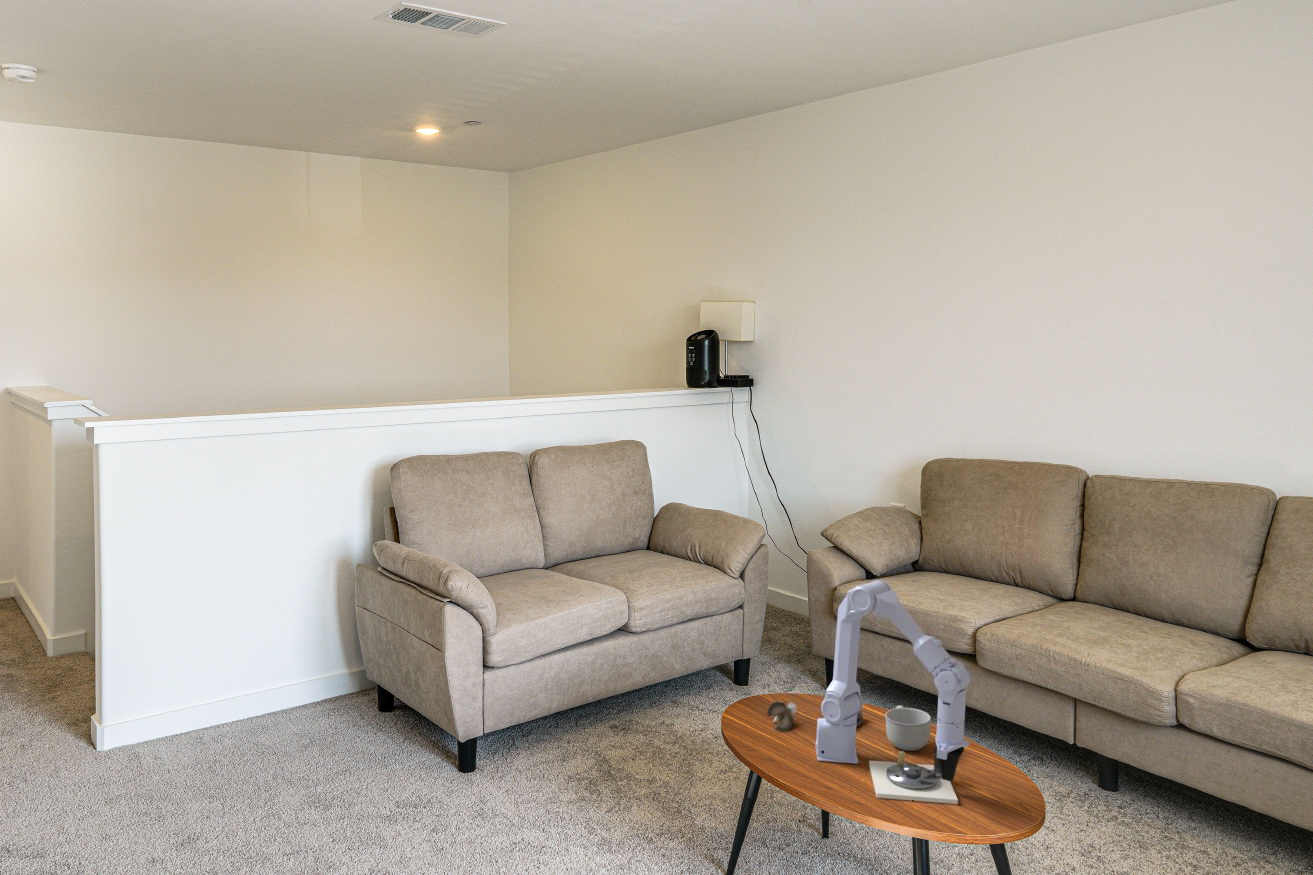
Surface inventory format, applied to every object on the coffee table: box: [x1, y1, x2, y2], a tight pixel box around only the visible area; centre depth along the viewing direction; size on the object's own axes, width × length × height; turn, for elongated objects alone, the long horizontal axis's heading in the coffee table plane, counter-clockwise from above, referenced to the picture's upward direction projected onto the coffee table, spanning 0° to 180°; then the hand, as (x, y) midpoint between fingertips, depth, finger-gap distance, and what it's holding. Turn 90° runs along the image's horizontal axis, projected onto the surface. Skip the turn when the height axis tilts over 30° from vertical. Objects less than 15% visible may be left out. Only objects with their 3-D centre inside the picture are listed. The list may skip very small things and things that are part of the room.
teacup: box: [884, 705, 932, 752], centre depth 229 cm, size 14×11×8 cm
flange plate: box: [886, 753, 942, 789], centre depth 207 cm, size 15×11×4 cm
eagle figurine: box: [766, 700, 798, 732], centre depth 239 cm, size 8×7×9 cm
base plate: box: [868, 750, 959, 805], centre depth 206 cm, size 17×17×4 cm
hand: (947, 779), depth 202 cm, fingers closed
